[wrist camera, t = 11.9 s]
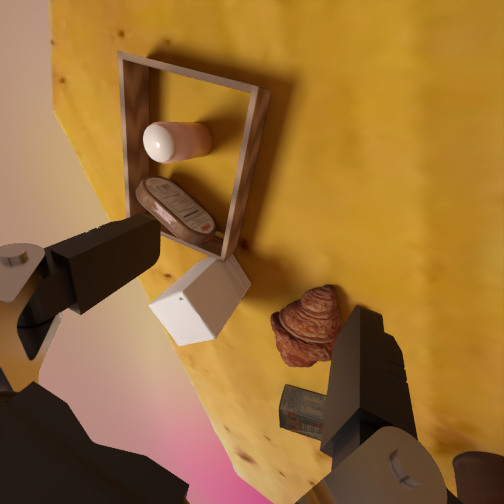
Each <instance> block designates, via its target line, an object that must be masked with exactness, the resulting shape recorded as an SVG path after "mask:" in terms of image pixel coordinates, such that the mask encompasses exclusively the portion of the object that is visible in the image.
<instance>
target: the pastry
mask: <svg viewBox="0 0 504 504" xmlns="http://www.w3.org/2000/svg"><path fill="white" fill-rule="evenodd" d="M336 304H337V298H336V294H335V290H334V288H333V287H331V286H330V285H324V287H322V288H317V289H313V290H312V289H311V290H309V291H307V292H305V294H304V295H303V297H302V298H301V301H297V302H293V303H290V304H289V305H287V306H286V309H282V310H281V311H280V312H275V313H273V314H272V315H271V320H270V321H271V326H272V329H273V331H274V333H275V335H276V345H277V349H278V351H279V352H280V354H281V357H282V359H283V361H284V362H285V364H287V365H288V366H290V367H311V366H313V364H315V363H316V362H317V361H330V360H331V359H332V351H333V347H334V343H335V340H336V338H337V336H338V334H339V332H340V327H339V325H340V322H341V317H340V313H339V309H338V307H337V305H336Z"/></svg>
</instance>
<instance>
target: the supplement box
mask: <svg viewBox="0 0 504 504" xmlns="http://www.w3.org/2000/svg"><path fill="white" fill-rule="evenodd" d="M250 286H251V282H250V281H249V279H248V277H247V276H246V274H245V273H244V271H243V269H242V268H241V266H240V264H239V263H238V261H237V260H236V258H235V256H234V255H233V254H232V255H231V256H230V257H229V258H228V259H227V260H226V261H225V262H222V261H220V260H217V259H215V258H213V257H210V256H209V257H207V258H205V259H203V260H201V261H199V262H198V263H197V264H195V265H194V266H193V267H192V268H191V269H190V270H188V271H187V272H186V273H185V274H184V275H183V276H182V277H180V278H179V279H178V280H177V281H176V282H175V283H174V284H172V285H171V286H170V287H169V288H168V289H167V290H166V291H164V292H163V293H162V294H161V295H160V296H159V297H157V298H156V299H155V300H154V301H153V302H152V303H151V304H149V307H150V308H151V309H152V311H153V312H154V313H155V315H156V316H157V317H158V319H159V320H160V321H161V323H162V324H163V325H164V327H165V328H166V329H167V331H168V332H169V333H170V335H171V336H172V337H173V339H174V340H175V341H176V343H177V344H178V345H179V346H183V345H187V344H192V343H197V342H202V341H207V340H212V339H216V338H217V336H218V334H219V333H220V331H221V330H222V328H223V327H224V325H225V324H226V322H227V321H228V319H229V318H230V316H231V315H232V313H233V312H234V310H235V309H236V307H237V305H238V304H239V302H240V301H241V299H242V298H243V296H244V295H245V293H246V292H247V290H248V289H249V287H250Z"/></svg>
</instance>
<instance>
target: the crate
mask: <svg viewBox="0 0 504 504" xmlns="http://www.w3.org/2000/svg"><path fill="white" fill-rule="evenodd" d="M149 67H153V68H157V69H161V70H164V71H168V72H172V73H176V74H180V75H184V76H187V77H191V78H195V79H199V80H203V81H206V82H210V83H214V84H218V85H222V86H226V87H229V88H233V89H237V90H241V91H245V92H248V93H251V96H250V101H249V106H248V112H247V117H246V123H245V128H244V133H243V139H242V144H241V150H240V155H239V160H238V166H237V171H236V177H235V182H234V188H233V193H232V198H231V204H230V209H229V215H228V220H227V225H226V231H225V236H224V241H223V240H220V239H218V238H215V237H212V238H211V240H210V242H209V243H208V244H206V245H203V246H195V245H191V244H188V243H186V242H184V241H182V240H180V239H179V238H178V237H176V236H175V235H174V234H173V233H172V232H171V231H170V230H169V229H168V228H167V227H166V226H165V225H163V224H162V223H161V222H160V221H159V220H158V219H157V218H156V217H155V216H154V215H152V214H151V213H150V212H149V211H148V210H147V209H146V208H145V207H144V206H143V205H142V204H141V203H140V202H139V201H138V199H137V197H136V189H137V188H138V187H139V184H140V182H141V181H142V179H143V178H144V177H146V176H149V155H148V153H147V152H146V149H145V147H144V142H143V136H144V132H145V130H146V128H147V127H148V126H149ZM118 69H119V87H120V105H121V123H122V141H123V159H124V178H125V196H126V214H127V218H129V217H131V216H134V215H136V214H139V213H142V214H145V215H147V216H149V217H152V218H154V219H156V220H158V221H159V222H160V224H161V235H162V236H164V237H166V238H169V239H171V240H173V241H176V242H178V243H180V244H183V245H185V246H187V247H190V248H192V249H194V250H197V251H199V252H201V253H204V254H206V255H208V256H210V257H213V258H215V259H217V260H220V261H222V262H225V261H226V260H227V259H228V258H229V257H230V256H231V255H232V254H233V253H234V252H235V251H236V249H237V245H238V240H239V236H240V231H241V227H242V222H243V218H244V213H245V208H246V204H247V199H248V195H249V190H250V186H251V181H252V177H253V172H254V168H255V163H256V159H257V154H258V150H259V145H260V141H261V136H262V132H263V127H264V123H265V118H266V114H267V109H268V105H269V100H270V96H271V91H270V90H267V89H264V88H261V87H259V86H255V85H251V84H247V83H243V82H239V81H235V80H231V79H227V78H223V77H219V76H215V75H211V74H207V73H203V72H199V71H196V70H192V69H188V68H184V67H180V66H176V65H172V64H168V63H164V62H160V61H156V60H152V59H148V58H144V57H140V56H136V55H132V54H129V53H125V52H121V51H118Z"/></svg>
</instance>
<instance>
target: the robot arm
mask: <svg viewBox="0 0 504 504" xmlns="http://www.w3.org/2000/svg"><path fill="white" fill-rule="evenodd" d="M160 237H161V224H160V222H159V221H158V220H156V219H154V218H152V217H149V216H147V215H145V214H142V213H139V214H136V215H134V216H131V217H129V218H126V219H124V220H120V221H114V222H110V223H107V224H105V225H102V226H100V227H98V229H97V228H95V229H92V230H90V231H88V232H87V233H86V232H84V233H82V234H79V235H77V236H74V237H72V238H69V239H67V240H64V241H61V242H59V243H56V244H54V245H51V246H49V247H46V248H44V249H43V248H42V247H40V246H38V245H34V244H28V243H18V244H9V245H4V246H1V247H0V504H190V503H189V502H188V501H187V499H186V496H187V492H188V488H189V484H187V483H186V482H184V481H183V480H181V479H180V478H178V477H177V476H175V475H174V474H172V473H171V472H169V471H168V470H166V469H165V468H163V467H162V466H160V465H159V464H157V463H156V462H154V461H153V460H151V459H150V458H148V457H147V456H144V455H140V454H136V453H132V452H128V451H124V450H119V449H115V448H111V447H107V446H103V445H99V444H96V443H94V442H92V440H91V439H90V438H89V436H88V435H87V433H86V432H85V430H84V429H83V427H82V426H81V424H80V422H79V421H78V419H77V418H76V416H75V415H74V413H73V412H72V410H71V409H70V407H69V405H68V404H67V403H66V402H64V401H63V400H61V399H60V398H58V397H57V396H55V395H54V394H52V393H51V392H49V391H48V390H46V389H45V388H43V387H42V386H40V385H39V384H38V376H39V370H40V367H41V364H42V362H43V360H44V358H45V356H46V353H47V351H48V349H49V347H50V344H51V342H52V340H53V337H54V335H55V333H56V331H57V328H58V326H59V324H60V322H61V319H62V313H61V312H62V311H64V310H65V309H67V308H69V309H71V310H73V311H75V312H76V313H78V314H80V315H82V314H83V313H85V312H86V311H87V310H89V309H90V308H92V307H93V306H95V305H96V304H98V303H99V302H100V301H102V300H103V299H105V298H106V297H108V296H109V295H111V294H112V293H114V292H115V291H117V290H118V289H120V288H121V287H123V286H124V285H126V284H127V283H128V282H130V281H131V280H133V279H134V278H136V277H137V276H139V275H140V274H142V273H143V272H145V271H146V270H147V269H149V268H150V267H152V266H153V265H154V264H155V263H156V262H157V260H158V258H159V255H160ZM404 367H405V366H404V360H403V354H402V351H401V349H400V347H399V346H398V344H397V342H396V340H395V339H394V337H393V336H392V335H389V334H387V333H385V332H384V326H383V318H382V315H381V314H379V313H377V312H375V311H372V310H370V309H367V308H365V307H363V306H360V305H357V306H356V307H355V308H354V310H353V311H352V313H351V315H350V316H349V318H348V319H347V321H346V323H345V324H344V326H343V328H342V329H341V331H340V332H339V334H338V336H337V338H336V340H335V343H334V347H333V351H332V359H331V367H330V375H329V383H328V391H327V399H326V407H325V415H324V423H323V431H322V438H321V446H320V451H322V452H323V453H325V454H327V455H329V456H331V457H332V469H331V472H330V473H329V474H328V475H327V476H326V477H324V478H323V479H322V480H321V481H320V482H319V483H318V484H316V485H315V486H314V487H313V488H312V489H310V490H309V491H308V492H307V493H306V494H305V495H304V496H303V497H301V498H300V499H299V500H298V501H297V502H296V503H295V504H464V503H462V502H461V501H460V500H459V499H458V498H457V497H455V496H454V495H453V494H452V493H451V492H450V491H449V490H448V489H447V488H446V486H445V482H444V479H443V476H442V474H441V472H440V470H439V468H438V466H437V464H436V462H435V461H434V459H433V458H432V456H431V455H430V454H429V452H428V451H427V450H426V449H425V447H424V446H423V445H422V444H421V443H420V442H419V441H418V438H417V433H416V427H415V422H414V416H413V410H412V405H411V399H410V394H409V388H408V383H406V381H407V377H406V371H405V370H404Z"/></svg>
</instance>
